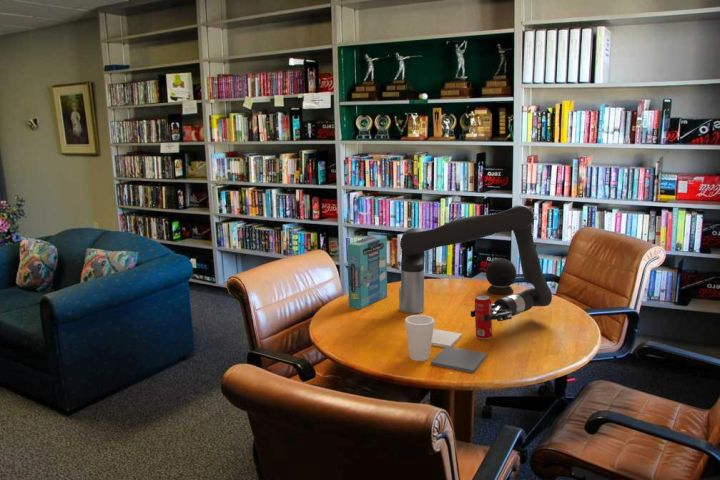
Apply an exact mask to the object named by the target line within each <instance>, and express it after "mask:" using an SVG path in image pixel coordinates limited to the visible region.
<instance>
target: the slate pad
mask: <svg viewBox="0 0 720 480" xmlns="http://www.w3.org/2000/svg"><path fill="white" fill-rule="evenodd" d="M487 355H488V353H486V352H481V351H474V350H469V349H464V348H459V347H453V346H452V347H448V346H446V347H443V349H442V350H440V352H439V353H438V354H437V355H436V356H435V357H434V358H433V359H432V360H431V362H430V365H431V366H435V367H442V368H445V369H451V370H456V371H459V372H460V371H462V372H465V373H466V372H467V373H470V374H471V373H472V374H474V373H475V372H476V371H477V370H478V368H479V367H480V366H481V364H483V362H484V361H485V360H486V358H487V357H488V356H487Z"/></svg>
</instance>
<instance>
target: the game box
mask: <svg viewBox="0 0 720 480" xmlns="http://www.w3.org/2000/svg"><path fill="white" fill-rule="evenodd" d="M387 246H388V236H387V235H381V234H374V235H371V236H368V237H365V238H362V239H359V240H356V241H352V242H349V243H347V281H348V283H347V284H348V307H349V308H351V307H352V309H356V310H362V309H363V308H366V307H367V306H370V305H372V304H375V303H377V302H378V301H381V300H382V299H384V298H387V297H388V247H387Z"/></svg>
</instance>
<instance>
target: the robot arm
mask: <svg viewBox="0 0 720 480" xmlns="http://www.w3.org/2000/svg"><path fill="white" fill-rule="evenodd" d="M533 221H534V213H533V211H532V210H531V208H529V207H528V206H526V205H523V204H516V205H514V206H512V207H511V208H509V209H506V210H502V211H500V212H496V213H491V214H481V215H472V216H467V217H462V218H458V219H454V220H451V221H449V222H447V223H444V224H442V225H440V226H438V227H434V228H433V229H428V230H422V231H421V230H419V229H418V228H409V229H407V230H405V231H404V233H403V234H402V236H401V238H400V240H399V241H400V242H399V245H400V250H401V258H400V259H401V260H400V261H401V262H400V287H399V288H398V297H399V298H398V304H399V305H398V307H399V308H398V309H399V310H398V311H399V312H403V313H405V314H412V315H418V314H420V313H421V314H422V313H423V312H424V311H425V305H424V304H425V260H426V259H425V252H426V251H429V250H433V249H435V248H436V249H437V248H440V247H447V246H451V245H457V244H462V243H467V242H471V241H475V240H476V241H477V240H479V239H483V238H485V237H489V236H492V235H494V234H498V233H502V232H503V233H504V232H509V231H512V232H513V233H514V237H515V240H516V245H517V250H518V256H519V261H520V266H521V270H522V274H523V279H524V282H525V283H527V284H530V285H533V287H531V288H526V289H525V290H523V291H521V292H520V293H515V294H510V295H505V296H504V297H500V298H497V299H496V300H495V301H494V302H493V303H491V308H492V314H490V316H489V315H484V317H483V321H484V322H487V321H490V320H492V321H497V322H502V321H508V320H512V317H515V316H517V315H519V314H521V313H524V312H527V311H529V310H531V309H532V308H533V307H548V306H549V305H551V303H552V301H553V294H552V291H551V289H550V287H549V284H548V283H547V281H546V279H545V277H544V275H543V271H542V266H541V261H540V258H539V255H538V252H537V251H538V250H537V248H536V246H535V241H534V238H533V231H532V223H533ZM470 317H472V318H475V309H473V310H471V311H470Z"/></svg>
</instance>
